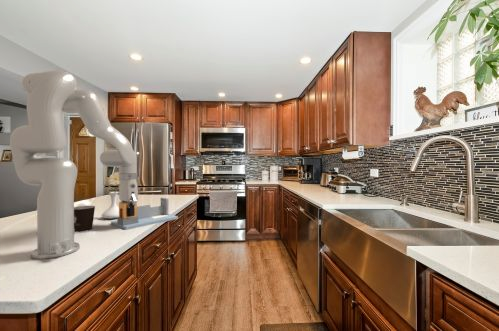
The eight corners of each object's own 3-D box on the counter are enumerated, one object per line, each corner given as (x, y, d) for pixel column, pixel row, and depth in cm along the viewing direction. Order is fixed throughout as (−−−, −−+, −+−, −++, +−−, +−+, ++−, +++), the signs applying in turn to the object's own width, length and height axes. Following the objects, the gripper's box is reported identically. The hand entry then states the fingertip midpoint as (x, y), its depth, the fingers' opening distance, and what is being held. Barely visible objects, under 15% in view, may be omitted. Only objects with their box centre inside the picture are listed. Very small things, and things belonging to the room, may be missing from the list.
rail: (178, 218, 126) (178, 199, 126) (126, 229, 105) (125, 206, 105) (161, 214, 136) (161, 196, 136) (111, 223, 115) (111, 203, 115)
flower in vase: (96, 219, 124) (96, 172, 124) (114, 214, 135) (113, 171, 135) (116, 221, 121) (116, 172, 120) (132, 216, 132) (132, 171, 131)
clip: (136, 216, 112) (136, 202, 112) (123, 218, 108) (123, 203, 108) (131, 215, 116) (131, 200, 116) (118, 217, 111) (118, 202, 111)
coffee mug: (95, 230, 104) (95, 207, 104) (70, 233, 99) (70, 210, 99) (94, 224, 114) (94, 204, 113) (72, 227, 109) (72, 205, 109)
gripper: (144, 177, 109) (144, 216, 109) (127, 176, 120) (127, 211, 120) (127, 178, 103) (128, 219, 103) (111, 176, 114) (111, 214, 114)
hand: (127, 214), depth 112 cm, fingers closed on clip, 5 cm apart
